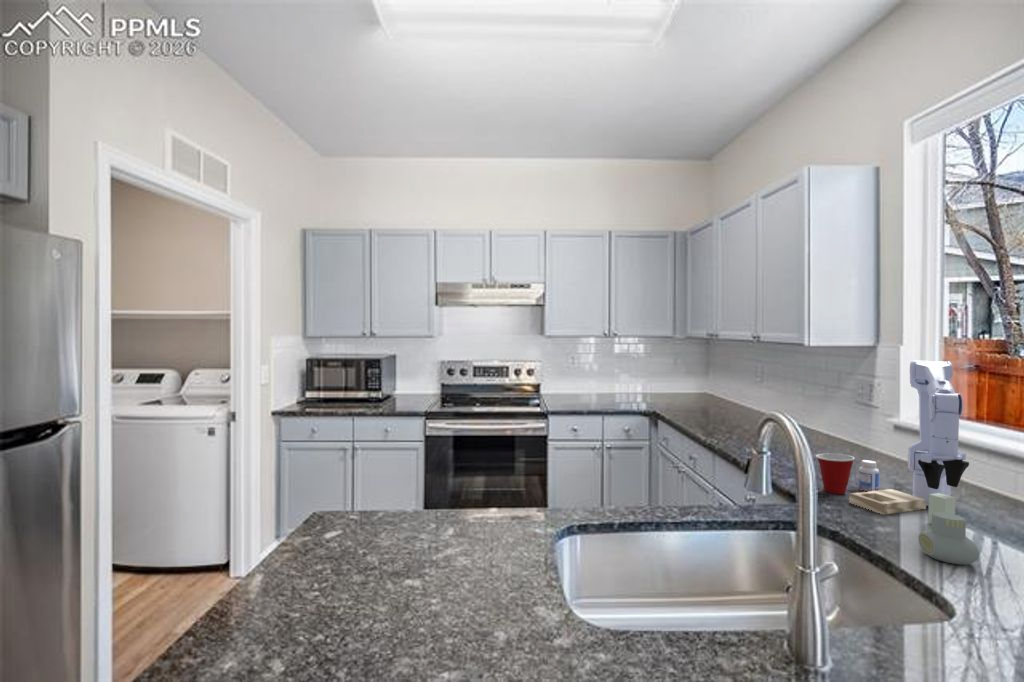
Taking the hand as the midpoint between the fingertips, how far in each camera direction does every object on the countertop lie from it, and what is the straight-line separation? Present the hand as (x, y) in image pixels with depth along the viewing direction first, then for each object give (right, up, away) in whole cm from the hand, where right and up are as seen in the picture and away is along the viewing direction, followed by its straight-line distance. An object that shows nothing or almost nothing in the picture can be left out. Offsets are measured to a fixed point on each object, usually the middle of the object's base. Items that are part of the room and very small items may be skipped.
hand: (942, 487), depth 135 cm
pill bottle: (+2, -10, +30) cm, 32 cm away
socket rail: (-4, -10, +15) cm, 18 cm away
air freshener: (-17, -11, -21) cm, 29 cm away
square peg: (0, -10, 0) cm, 10 cm away
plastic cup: (-11, -10, +28) cm, 32 cm away
